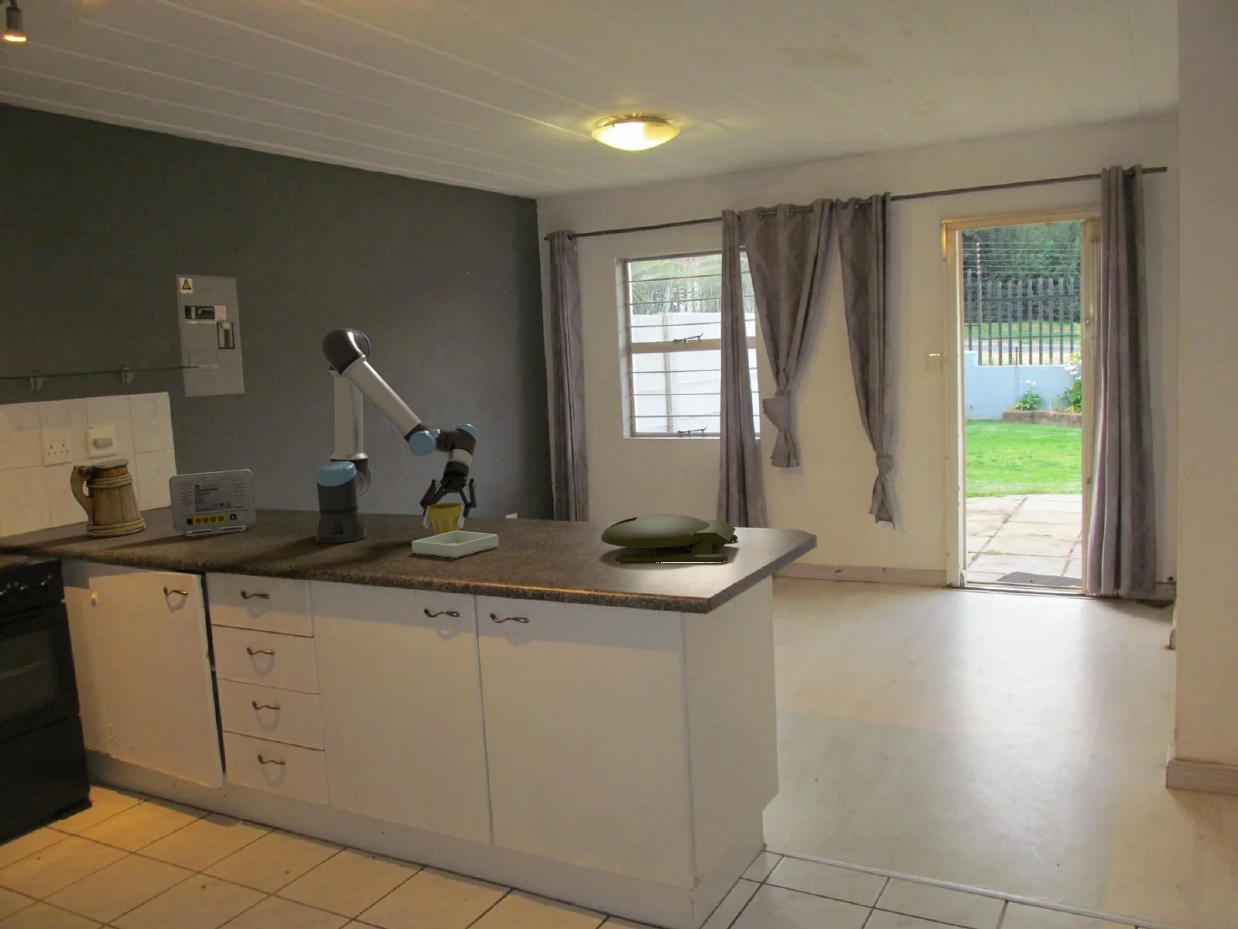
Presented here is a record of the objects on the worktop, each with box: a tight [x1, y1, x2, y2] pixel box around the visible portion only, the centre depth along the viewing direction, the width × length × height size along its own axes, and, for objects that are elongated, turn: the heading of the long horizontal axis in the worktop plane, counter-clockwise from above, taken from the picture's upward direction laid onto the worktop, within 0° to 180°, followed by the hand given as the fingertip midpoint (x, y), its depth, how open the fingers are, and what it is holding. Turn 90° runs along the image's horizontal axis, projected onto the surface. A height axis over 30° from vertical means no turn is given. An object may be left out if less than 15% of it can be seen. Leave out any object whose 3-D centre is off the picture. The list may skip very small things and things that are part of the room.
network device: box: [168, 468, 257, 537], centre depth 330 cm, size 26×9×20 cm, turn 111°
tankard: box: [69, 458, 147, 538], centre depth 336 cm, size 18×24×25 cm
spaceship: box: [600, 513, 739, 563], centre depth 263 cm, size 35×31×10 cm
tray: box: [411, 530, 500, 559], centre depth 279 cm, size 17×17×4 cm
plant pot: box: [428, 502, 463, 536], centre depth 299 cm, size 10×10×10 cm
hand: (442, 526), depth 296 cm, fingers closed on plant pot, 10 cm apart
